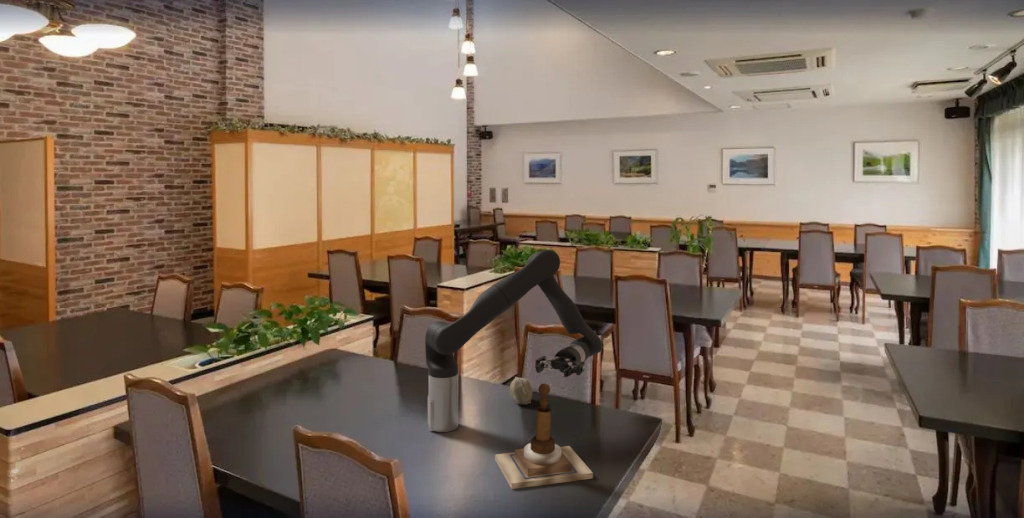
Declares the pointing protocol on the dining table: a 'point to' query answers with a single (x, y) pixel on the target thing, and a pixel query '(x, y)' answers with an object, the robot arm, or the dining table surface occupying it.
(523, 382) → the garlic bulb
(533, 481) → the beige flat stepped piece
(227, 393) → the dining table surface
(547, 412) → the wooden knobbed peg
